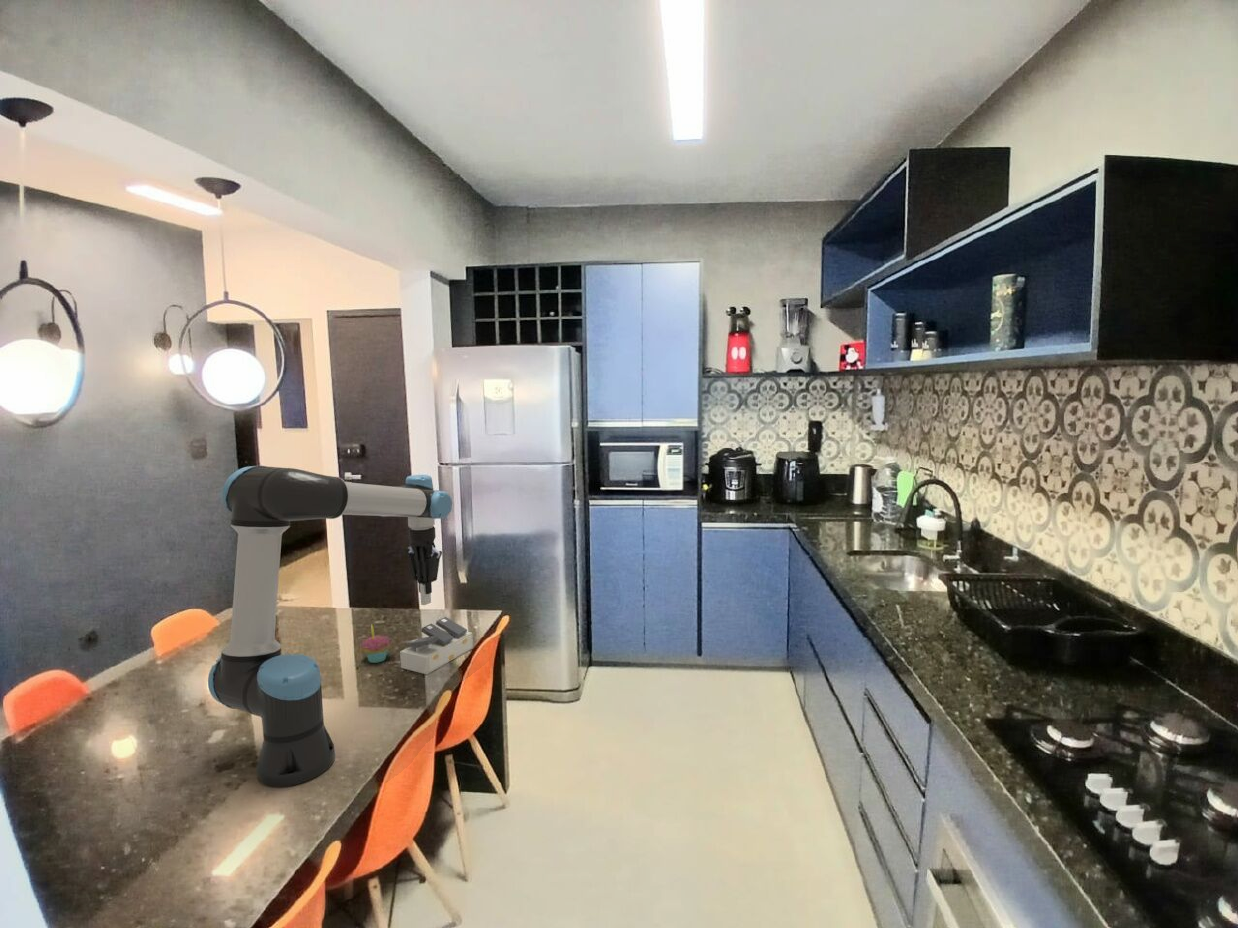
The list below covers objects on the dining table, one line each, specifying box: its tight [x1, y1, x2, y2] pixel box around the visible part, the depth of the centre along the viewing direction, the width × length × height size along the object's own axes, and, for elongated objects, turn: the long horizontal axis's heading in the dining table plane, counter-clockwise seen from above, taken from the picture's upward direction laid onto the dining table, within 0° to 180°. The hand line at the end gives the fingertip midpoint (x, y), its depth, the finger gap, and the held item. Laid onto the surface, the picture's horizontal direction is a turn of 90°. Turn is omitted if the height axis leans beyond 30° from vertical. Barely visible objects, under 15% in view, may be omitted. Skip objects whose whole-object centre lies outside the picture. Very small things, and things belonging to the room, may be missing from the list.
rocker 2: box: [420, 623, 453, 645], centre depth 190 cm, size 4×9×1 cm, turn 63°
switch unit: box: [399, 629, 474, 675], centre depth 190 cm, size 20×10×6 cm, turn 153°
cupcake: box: [360, 623, 392, 664], centre depth 189 cm, size 9×8×12 cm
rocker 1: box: [405, 636, 438, 648], centre depth 184 cm, size 4×9×1 cm, turn 63°
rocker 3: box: [435, 616, 468, 638], centre depth 195 cm, size 4×9×1 cm, turn 63°
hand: (426, 603), depth 190 cm, fingers closed
